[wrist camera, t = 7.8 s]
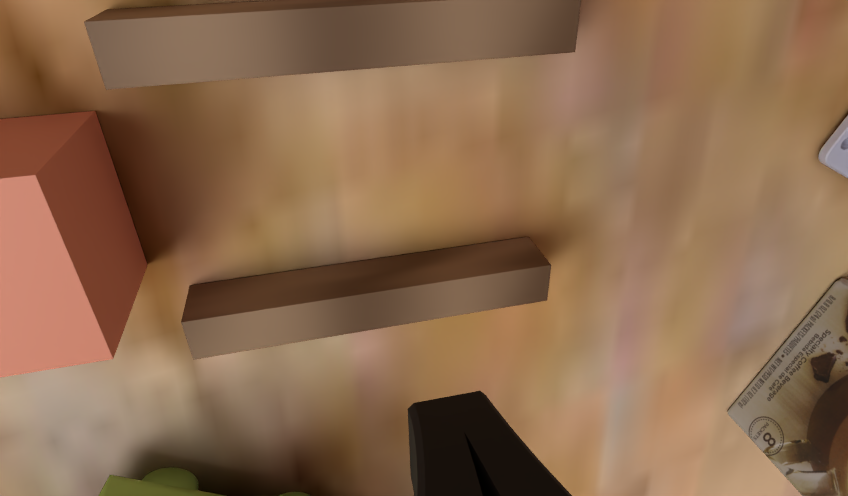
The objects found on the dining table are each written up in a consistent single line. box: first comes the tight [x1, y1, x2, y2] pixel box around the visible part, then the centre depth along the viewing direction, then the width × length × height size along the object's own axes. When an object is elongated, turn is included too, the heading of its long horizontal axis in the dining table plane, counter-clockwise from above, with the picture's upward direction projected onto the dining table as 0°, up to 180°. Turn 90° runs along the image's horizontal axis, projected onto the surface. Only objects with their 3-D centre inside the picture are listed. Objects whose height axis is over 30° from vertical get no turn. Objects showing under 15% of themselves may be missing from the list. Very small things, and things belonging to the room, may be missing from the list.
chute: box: [84, 0, 581, 360], centre depth 17 cm, size 12×10×2 cm
